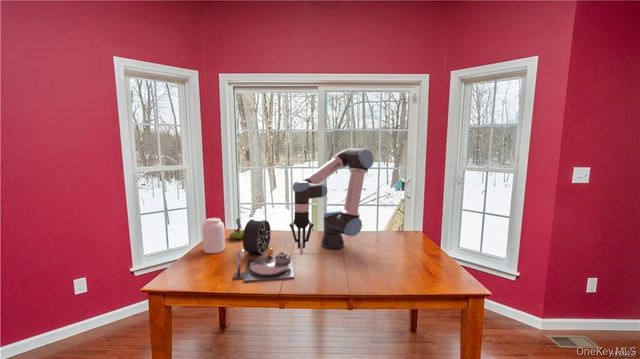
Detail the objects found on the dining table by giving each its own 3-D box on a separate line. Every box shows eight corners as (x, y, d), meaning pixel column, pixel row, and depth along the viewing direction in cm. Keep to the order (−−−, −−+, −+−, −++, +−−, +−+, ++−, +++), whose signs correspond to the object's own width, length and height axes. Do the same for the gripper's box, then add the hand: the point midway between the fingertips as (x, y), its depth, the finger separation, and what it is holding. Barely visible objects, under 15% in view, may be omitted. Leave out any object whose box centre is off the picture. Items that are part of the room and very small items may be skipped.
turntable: (288, 257, 153) (288, 246, 152) (289, 274, 133) (289, 261, 132) (252, 260, 150) (251, 248, 149) (248, 277, 130) (248, 263, 129)
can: (207, 255, 159) (206, 223, 156) (200, 249, 168) (199, 218, 166) (228, 250, 167) (227, 219, 165) (220, 244, 176) (219, 215, 174)
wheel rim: (257, 259, 154) (257, 225, 152) (243, 257, 156) (242, 224, 154) (270, 246, 174) (270, 216, 171) (257, 245, 176) (257, 215, 173)
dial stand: (245, 273, 136) (244, 248, 135) (243, 278, 131) (242, 252, 130) (234, 274, 136) (233, 248, 134) (233, 279, 131) (232, 252, 129)
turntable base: (291, 258, 155) (291, 256, 155) (294, 278, 132) (293, 276, 132) (248, 261, 152) (248, 259, 151) (243, 282, 128) (243, 279, 128)
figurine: (231, 235, 195) (231, 215, 193) (249, 234, 197) (248, 214, 195) (227, 242, 182) (226, 220, 180) (246, 241, 183) (245, 220, 181)
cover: (290, 258, 147) (290, 249, 146) (291, 265, 139) (291, 255, 138) (275, 259, 146) (275, 250, 145) (275, 266, 138) (275, 256, 137)
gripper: (313, 209, 145) (312, 250, 148) (288, 209, 143) (288, 251, 146) (314, 212, 138) (314, 256, 140) (289, 212, 136) (289, 257, 138)
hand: (301, 254), depth 143 cm, fingers closed
